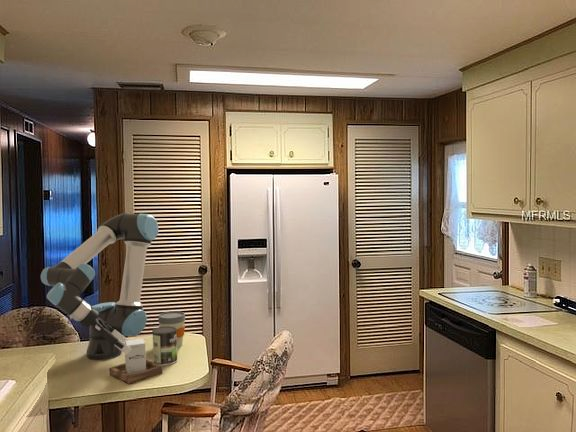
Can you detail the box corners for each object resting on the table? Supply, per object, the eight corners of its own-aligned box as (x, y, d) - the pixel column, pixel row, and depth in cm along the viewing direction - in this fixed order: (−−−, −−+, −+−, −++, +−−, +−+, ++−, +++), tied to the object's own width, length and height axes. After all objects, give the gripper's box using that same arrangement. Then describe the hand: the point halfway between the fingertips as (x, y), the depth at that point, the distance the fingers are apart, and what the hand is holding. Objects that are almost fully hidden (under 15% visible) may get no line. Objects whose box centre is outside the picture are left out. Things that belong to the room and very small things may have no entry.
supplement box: (127, 376, 195) (126, 345, 195) (125, 370, 202) (124, 340, 201) (146, 373, 198) (145, 343, 198) (144, 367, 205) (142, 337, 204)
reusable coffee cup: (158, 342, 239) (157, 312, 238) (184, 340, 243) (183, 310, 242) (159, 351, 227) (158, 319, 226) (187, 348, 231) (186, 316, 230)
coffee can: (181, 357, 218) (180, 326, 217) (171, 366, 208) (170, 333, 207) (159, 356, 221) (158, 325, 219) (148, 365, 210) (147, 332, 209)
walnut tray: (109, 375, 200) (109, 367, 200) (142, 364, 211) (142, 357, 211) (128, 385, 190) (128, 377, 190) (162, 373, 201) (162, 366, 201)
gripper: (76, 314, 201) (116, 344, 208) (79, 330, 178) (123, 364, 186) (89, 299, 202) (129, 330, 210) (94, 314, 180) (138, 348, 188)
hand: (126, 346), depth 198 cm, fingers open, 13 cm apart
